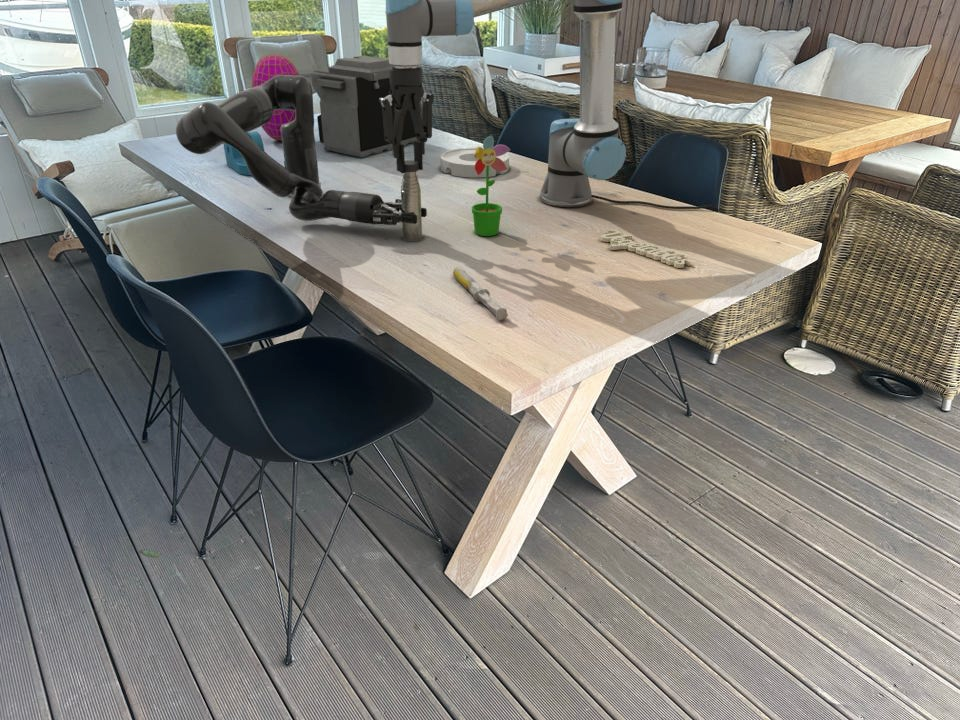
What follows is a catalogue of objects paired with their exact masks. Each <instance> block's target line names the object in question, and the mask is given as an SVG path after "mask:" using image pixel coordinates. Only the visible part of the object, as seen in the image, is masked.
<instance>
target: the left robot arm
mask: <svg viewBox="0 0 960 720" xmlns="http://www.w3.org/2000/svg"><path fill="white" fill-rule="evenodd" d="M312 87H313V86H312V83H311V82H310V79H309V78H308V77H306V76H304V75H300V76H295V75H277V76H275V77H273V78H271V79H269V80H268V81H266V82H265V83H263V84H262V85H260V86H256V87H253V88H252V87H251V88H247V89H244V90H242V91H239V92H236V93H234V94H233V95H230V96H229V97H227V98H226V99H224V100H223V101H220V103H218V104H216V103H213V102H209V101H206V102H205V101H204V102H202V103H200V104H198V105H197V106H195V107H194V108H192V109H191V110H190V111H188V112H186V113H185V114H183V115H182V116H181V117H180V118H179V120H178V122H177V124H176V127H175V134H176V135H175V136H176V138H177V141H178V142H179V144H180V145H181V146H182V147H183V148H184V149H185V150H187V151H188V152H190V153H192V154H196V155H206V154H208V153H211V152H212V151H213V150H216V148H218V147H220V146H221V145H224V144H223V143H227V144H229V145H231V146H232V147H234V148H235V149H236V150H237V151H239V153H240V154H241V155H242V157H243V159H244V161H245V163H246V165H247V168H248V170H249V172H250V174H251V175H250V176H251V177H252V178H253V180H255V181H256V182H257V183H258V184H259V185H260V186H262V187H263V188H265V189H266V190H267V191H269V192H270V193H272V194H273V195H275V196H276V197H278V198H286V197H288V196H289V197H291V199H290V202H289V205H288V211H289V213H290V215H292V217H293V218H295V219H297V220H300V221H305V222H310V221H316V220H324V219H331V218H333V219H340V220H346V221H348V222H352V223H360V224H367V225H373V226H374V225H375V226H376V225H382V226H383V225H384V226H385V225H386V226H397V225H398V224H402V223H403V222H405V223H412V224H416V223H417V222H418V220H417V215H416V214H409V213H403V214H402V203H401V198H395V200H394V201H395V202H393V201H384V200H383V199H382V197H381V195H379V194H374V193H368V192H367V193H366V192H358V191H344V190H335V189H330V190H326V191H325V192H323V189H322V184H321V183H322V182H321V181H320V174H319V166H318V165H319V164H318V157H317V148H316V140H315V139H316V138H315V114H314V113H315V112H314V98H313V97H314V96H313V95H314V94H313V88H312ZM274 110H291V111H295V119H294V120H293V121H291V122H288V123H285V124H283V125H282V126H281V128H280V129H281V137H282V141H281V145H282V151H283V159H284V161H283V165H282V164H281V163H279V162H278V161H277V160H275V159H274V158H273V157H272V156H270V154H268V153H267V152H266V151H265V150H264V151H263V150H262V149H261V148H260V147H259V146H258V145H257V144H256V142H255V141H254V140H253V139H252V138H251V137H250V136H249V135H248V134H247V132H253V131H254V130H257V129H259V128H262V127H261V126H263V125H265V124H266V123H268V122H269V121H270V119H271V118H272V115H273V111H274ZM427 216H428V210H427V208H426V207H422V206H421V218H426V217H427Z"/></svg>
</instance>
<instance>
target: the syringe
mask: <svg viewBox="0 0 960 720" xmlns="http://www.w3.org/2000/svg"><path fill="white" fill-rule="evenodd" d="M452 274H453V277H454V279H455V280H457V281H458V282H459V283H460V285H462V287H464V289H466V290H467V291H468V293H470V295H471V296H472V298H473V300H474V302H477V303H478V302H480V303H482V304H483V305H484V306H485V307H486V308H487V309H488V310H489V311H490V312H491V313H492V314H493V315H494V316H495V317H496V320H497V321H503V320H504V319H506V318H507V317H509V314H508V310H507V308H506V307H502V306H501V305H500V303H498V302H497V301H496V300H494V299H493V298H492V297H491V296H490V295H491V293H490V290H488V289H486V288H483V287H482V286H481V285H480V284H479V283H478V282H477V281H476V280H474V278H473V277H471V275H469V274H468V273H467V272H466V270H465V269H464V268H463V267H462V266H456V267H454V268H453V271H452Z"/></svg>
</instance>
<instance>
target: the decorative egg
mask: <svg viewBox="0 0 960 720" xmlns="http://www.w3.org/2000/svg"><path fill="white" fill-rule="evenodd" d="M253 70H254V71H253V73H252V77H251V88H253V87H256V86H260V85H262V84H263V83H265V82H266V81H268V80H269V79H271V78H273V77H275V76H277V75H295V76H301V75H300V73H299V71H298V69H297V67H296V66H295V65H294V63H293V62H292V61H291V60H290V59H288V58H287V57H285V56H282V55H280V54H268V55H265V56H262V57H261V58H260V59H259V60H258V61H257V62H256V65H255V68H254V69H253ZM294 119H295V111H291V110H274V111H273V115H272V118H271V119H270V121H269V122H268V123H266V124H265V125H263V126H261V127H260V128H262V130H263V131H264V133H266V135H267V136H268V137H270V138H271V139H273V140H275V141H281V142H282V137H281V129H280V128H281V126H282V125H283V124H285V123H288V122H291V121H293V120H294Z"/></svg>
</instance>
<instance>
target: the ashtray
mask: <svg viewBox="0 0 960 720" xmlns="http://www.w3.org/2000/svg"><path fill="white" fill-rule="evenodd" d="M482 148H483V147H482ZM476 149H477V147H463V148H454V149H449V150H446V151H444V152H442V153H441V154H440V155H439V156H440V157H439V159H440V170H441V172H443V173H446V174H451V175H452V176H454V177H461V178H486V166H485V168H484V170H483V171H482V173H481V174H479V175H478V174H477V172H476V170H475V163H476V162H477V160H479V159H477V158H475V157H474V154H475V151H476ZM483 149H484V148H483ZM498 158H499V159H501V160H502V161H503V162H504V164H505V165H506V167H507V170H503V171H498V170H495V169H494V168H492V167H491V165H489V178H490V177H496V175H503V174H505V173H507V172H509V169H510V156H509V154H508V153H505V154H503V155H501V156H498Z"/></svg>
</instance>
